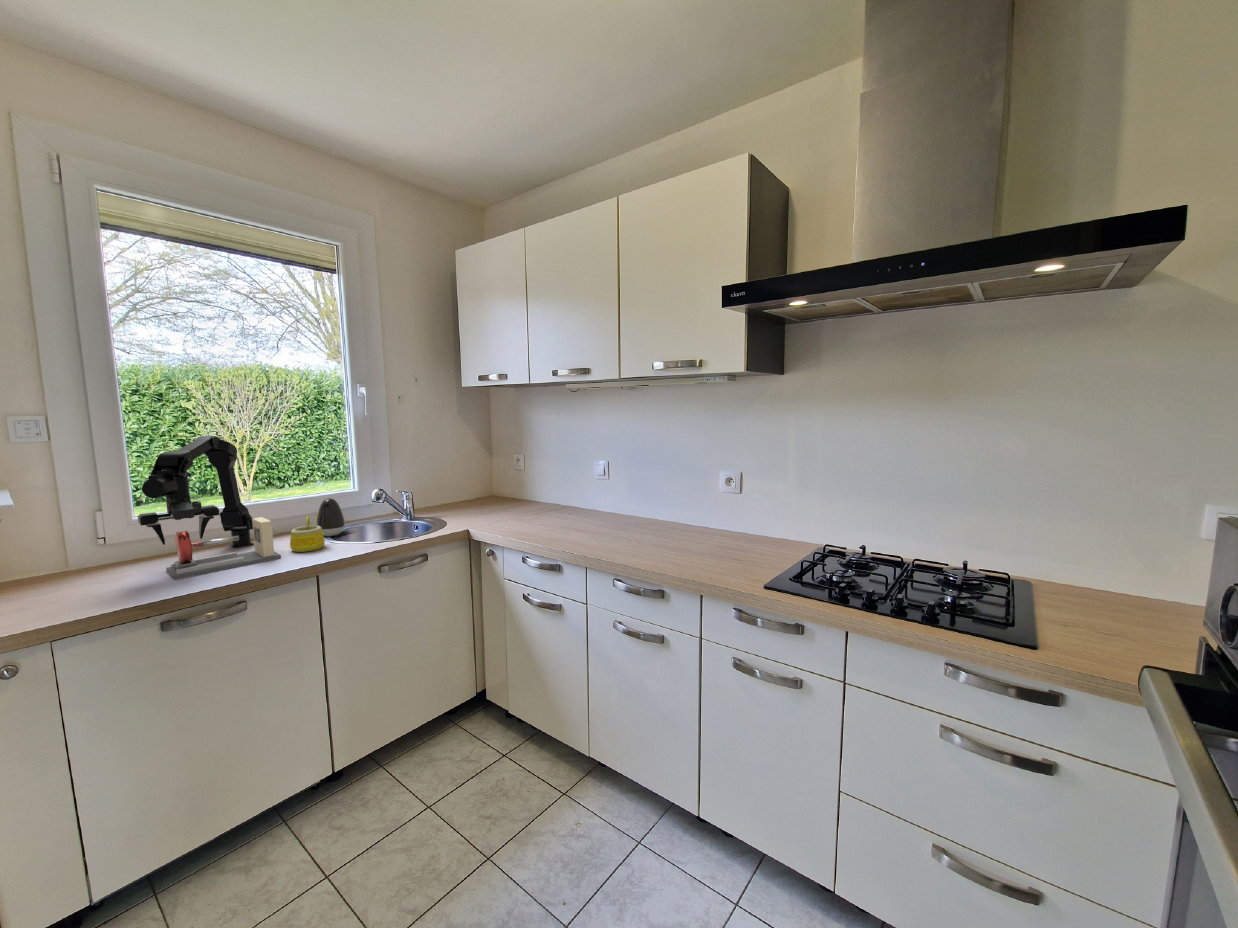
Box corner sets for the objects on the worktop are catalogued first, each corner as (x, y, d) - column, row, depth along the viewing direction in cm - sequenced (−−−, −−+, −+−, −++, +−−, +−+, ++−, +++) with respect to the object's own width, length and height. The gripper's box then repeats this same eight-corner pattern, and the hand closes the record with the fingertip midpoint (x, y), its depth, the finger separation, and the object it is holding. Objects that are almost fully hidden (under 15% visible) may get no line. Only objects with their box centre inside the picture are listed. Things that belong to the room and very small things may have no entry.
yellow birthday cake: (309, 554, 178) (306, 521, 176) (283, 552, 180) (280, 520, 178) (336, 544, 190) (333, 513, 189) (311, 543, 192) (309, 512, 191)
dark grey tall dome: (313, 538, 199) (310, 501, 197) (321, 532, 209) (318, 496, 207) (341, 536, 201) (339, 499, 200) (348, 530, 211) (345, 495, 210)
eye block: (166, 571, 160) (161, 530, 159) (269, 551, 181) (266, 515, 180) (174, 579, 152) (169, 537, 150) (280, 558, 173) (277, 520, 171)
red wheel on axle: (173, 566, 160) (169, 530, 159) (236, 554, 173) (233, 521, 171) (179, 572, 154) (175, 535, 152) (244, 559, 166) (241, 525, 165)
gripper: (140, 500, 144) (146, 552, 145) (221, 491, 158) (226, 539, 160) (134, 496, 151) (141, 546, 153) (212, 488, 165) (217, 534, 167)
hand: (182, 541), depth 158 cm, fingers open, 9 cm apart
